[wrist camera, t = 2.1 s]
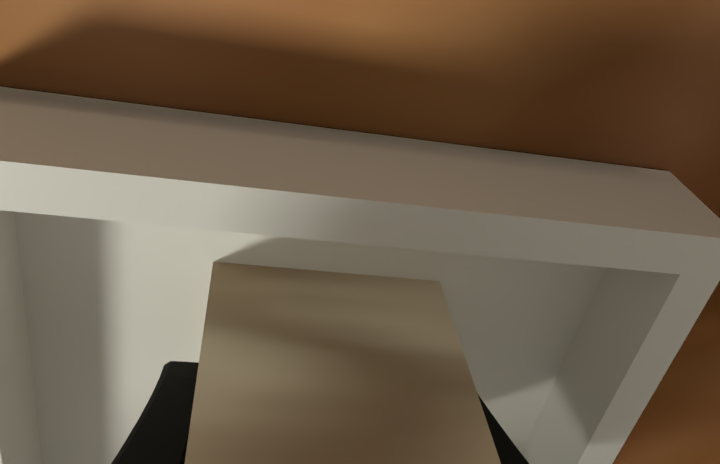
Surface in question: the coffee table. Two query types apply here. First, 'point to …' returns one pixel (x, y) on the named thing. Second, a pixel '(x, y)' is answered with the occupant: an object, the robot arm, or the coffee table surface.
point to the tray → (329, 263)
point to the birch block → (332, 373)
